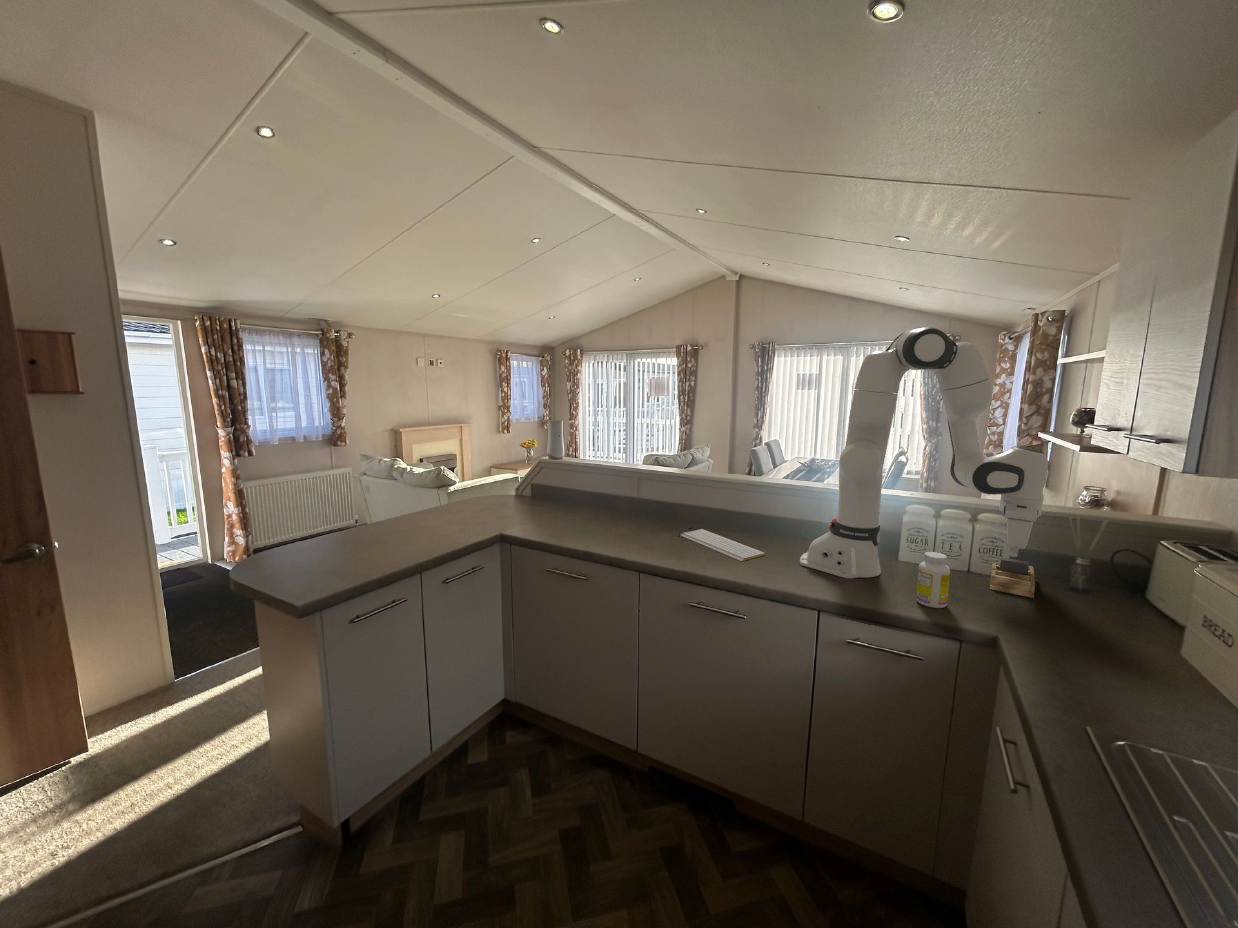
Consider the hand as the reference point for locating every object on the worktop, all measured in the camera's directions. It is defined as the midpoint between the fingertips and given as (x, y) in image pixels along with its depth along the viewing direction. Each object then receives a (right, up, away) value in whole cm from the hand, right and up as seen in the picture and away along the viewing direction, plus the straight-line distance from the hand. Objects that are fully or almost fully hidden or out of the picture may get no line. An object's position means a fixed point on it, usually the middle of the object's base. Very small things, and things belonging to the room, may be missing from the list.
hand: (1012, 555), depth 134 cm
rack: (+1, -8, +1) cm, 8 cm away
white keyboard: (-74, -4, +34) cm, 82 cm away
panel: (0, -7, +1) cm, 7 cm away
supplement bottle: (-30, -10, -11) cm, 33 cm away
